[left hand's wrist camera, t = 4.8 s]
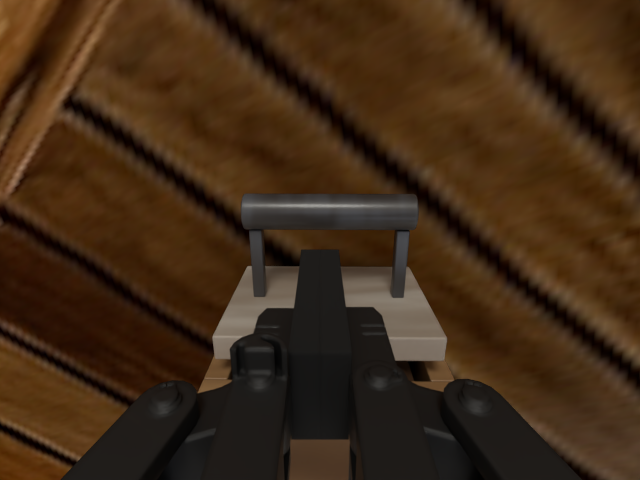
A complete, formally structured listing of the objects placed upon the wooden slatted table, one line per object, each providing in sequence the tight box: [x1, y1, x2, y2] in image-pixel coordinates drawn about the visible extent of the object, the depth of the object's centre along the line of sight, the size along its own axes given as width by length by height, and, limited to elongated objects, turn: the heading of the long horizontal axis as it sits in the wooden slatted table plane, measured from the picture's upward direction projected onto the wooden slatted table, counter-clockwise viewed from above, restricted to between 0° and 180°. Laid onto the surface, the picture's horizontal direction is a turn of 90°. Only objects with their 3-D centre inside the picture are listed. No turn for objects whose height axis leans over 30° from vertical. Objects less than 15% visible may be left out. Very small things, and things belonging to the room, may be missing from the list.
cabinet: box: [198, 355, 454, 480], centre depth 23 cm, size 20×11×10 cm, turn 0°
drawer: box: [212, 194, 447, 381], centre depth 21 cm, size 24×10×7 cm, turn 0°
